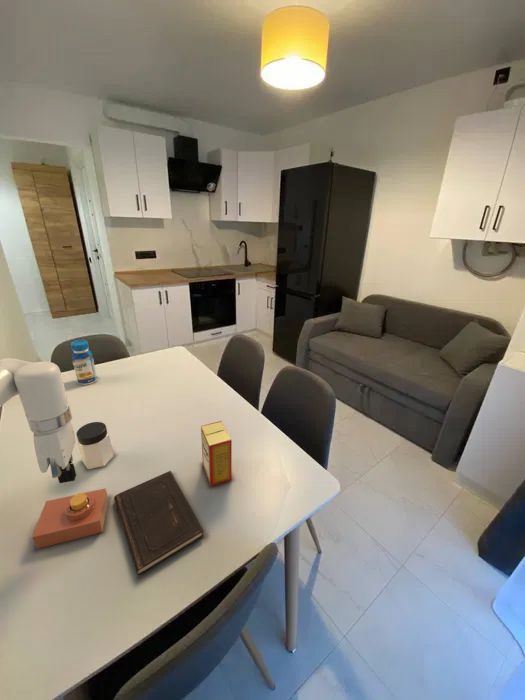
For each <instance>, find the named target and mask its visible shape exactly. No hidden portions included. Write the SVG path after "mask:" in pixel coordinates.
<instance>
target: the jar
mask: <svg viewBox="0 0 525 700" xmlns="http://www.w3.org/2000/svg"><path fill="white" fill-rule="evenodd" d="M75 436H76V442H77V446H78V450H79V453H80V457H81V460H82V463H83V464H84V465H85V467H86V468H87V469H88V470H92V469H96V468H103V467H105V466H106V465H107V464H108V463H109V462H110V461H111V460H112V458H113V457H114V452H113V447H112V442H111V437H110V434H109V432H108V429H107V425H106V423H104V422H102V421H93V422H89V423H86V424H83V425H81V427H80V428H79V429H77V431H76V435H75Z"/></svg>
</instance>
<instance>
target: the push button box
mask: <svg viewBox="0 0 525 700" xmlns="http://www.w3.org/2000/svg"><path fill="white" fill-rule="evenodd" d="M83 493H84V494H86V496H87V500H88V504H87V506H86V507H85V508H83V509H81V510H79V511H73V510H72V508H71V505H70V500H71V498H72V497H74V496H75V495H76V494H73V495H67V496H62V497H58V498H54V499H53V498H52V499H49V500H46V501H45V503H44V506H43V508H42V510H41V513H40V516H39V518H38V521H37V524H36V526H35V529H34V531H33V534H32V537H31V539H32V541H33V543H34V545H35V548H36V549H41V548H42V549H43V548H46V547H50V546H52V545H53V546H54V545H57V544H58V545H59V544H62V543H66V542H69V541H72V540H77V539H81V538H85V537H89V536H93V535H97V534H101V533H103V531H104V526H105V520H106V519H105V518H106V513H107V508H108V504H109V503H108V502H109V496H108V493H107V488H106V487H105V488H100V489H95V490H91V491H87V492H83Z"/></svg>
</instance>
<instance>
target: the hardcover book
mask: <svg viewBox="0 0 525 700" xmlns="http://www.w3.org/2000/svg"><path fill="white" fill-rule="evenodd" d="M114 502H115V504H116V509H117V512H118V516H119V519H120V522H121V525H122V528H123V529H122V530H123V532H124V535H125V539H126V543H127V545H128V548H129V552H130V555H131V558H132V559H131V560H132V562H133V565H134V569H135V572H136V575H137V576H141V575H144V574H146V572H148V571H150V570H151V569H153V568H155V567H156V566H157V565H160V564H161V563H163V562H164V561H166V560H168V559H169V558H171V557H173V556H174V555H176V554H177V553H179V552H181V551H183V550H184V549H186V548H187V547H189V546H191V545H192V544H194V543H195V542H197V541H199V540H200V539H202V538H204V537H205V536H204V533H203V532H204V529H203V527H202V525H201V523H200V522H199V519H198V517H197V516H196V514H195V513H194V511H193V509H192V507H191V505H190V503H189V502H188V500H187V498H186V496H185V494H184V492H183V491H182V489H181V487H180V485H179V483H178V481H177V480H176V478H175V476H174V474H173V472H172V471H171V470H169V471H166V472H164V473H162V474H160V475H157V476H155V477H153V478H151V479H148V480H146V481H144V482H142V483H139V484H136V485H135V486H133V487H130V488H128V489H126V490H124V491H122V492H119V493H117V494H115V496H114Z"/></svg>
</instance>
